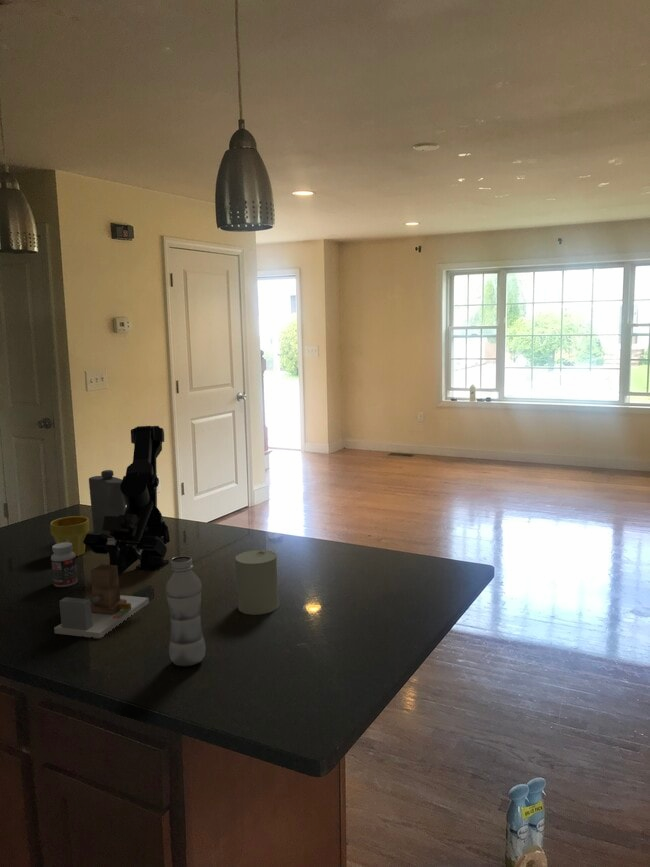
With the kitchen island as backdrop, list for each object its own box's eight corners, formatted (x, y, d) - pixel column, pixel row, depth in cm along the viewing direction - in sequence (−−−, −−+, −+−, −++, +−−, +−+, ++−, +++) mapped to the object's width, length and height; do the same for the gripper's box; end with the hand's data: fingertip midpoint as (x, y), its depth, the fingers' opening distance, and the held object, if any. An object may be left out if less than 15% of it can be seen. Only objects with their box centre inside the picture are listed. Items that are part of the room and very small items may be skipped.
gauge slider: (101, 602, 152) (98, 563, 151) (136, 605, 150) (133, 565, 148) (82, 615, 146) (78, 574, 144) (118, 618, 143) (114, 577, 142)
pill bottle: (69, 588, 166) (65, 549, 164) (48, 587, 167) (44, 548, 165) (82, 579, 171) (78, 541, 170) (62, 578, 172) (58, 541, 171)
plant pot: (99, 551, 193) (96, 518, 192) (68, 562, 185) (65, 527, 183) (76, 546, 199) (73, 514, 197) (45, 557, 190) (41, 523, 189)
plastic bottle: (172, 655, 129) (164, 554, 126) (208, 652, 130) (201, 552, 127) (167, 672, 123) (159, 566, 120) (205, 669, 123) (198, 564, 120)
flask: (133, 536, 207) (128, 472, 204) (117, 541, 203) (111, 475, 200) (107, 528, 217) (101, 466, 214) (90, 532, 212) (84, 470, 209)
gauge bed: (107, 598, 158) (104, 570, 157) (149, 602, 155) (146, 573, 154) (54, 633, 141) (51, 601, 140) (100, 638, 137) (97, 605, 136)
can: (285, 600, 154) (283, 549, 152) (269, 616, 145) (266, 563, 143) (248, 596, 157) (245, 546, 155) (230, 612, 148) (227, 559, 146)
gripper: (84, 498, 155) (57, 560, 147) (156, 501, 150) (132, 566, 141) (107, 522, 164) (83, 582, 155) (176, 525, 159) (155, 588, 150)
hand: (112, 579), depth 150 cm, fingers closed, pressing on gauge slider
